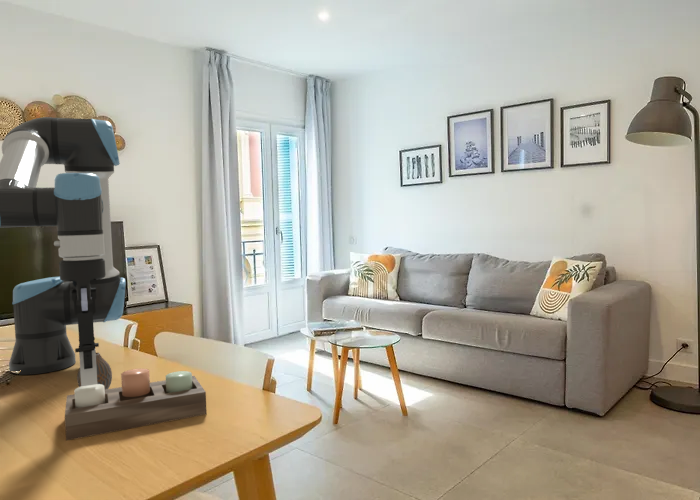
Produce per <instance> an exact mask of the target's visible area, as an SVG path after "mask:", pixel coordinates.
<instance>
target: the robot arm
mask: <svg viewBox="0 0 700 500" xmlns="http://www.w3.org/2000/svg"><path fill="white" fill-rule="evenodd" d="M1 153H2V157H1V160H0V228H19V227H20V228H23V227H26V228H27V227H56V228H57V232H56V233H57V239H58V240H54V242H53V245H54V247H58V257H59V258H62V259H61V260H60V261H59V262H58V267H59V268H58V269H59V276H52V277H51V276H49V277H45V278H40V279H35V280H30V281H29V280H28V281H26V282H21V283H19V284H16V285H15V286H14V288H13V290H12V304H11V305H13V320H14V321H13V322H14V334H15V342H14V344H13V345H14V346H13V349H12V352H11V354H10V355H11V356H10V359H9V362H8V369H9V370H10V371H20V370H21V372H20V373H19V375H21V376H23V375H24V376H25V375H27V376H28V375H38V374H39V375H40V374H46V373H52V372H57V371H60V370H64V369H68V368H69V367H72V366H73V365H75V364H76V354H77V353H78V355H79V358H78V359H79V368H80V374H81V386H88V385H94V384H97V367H96V353H97V352H96V350H97V349H96V348H99V347H100V342H95V339H96V338H95V333H94V331H95V328H94V324H95V323H106V322H111V321H117V320H120V318H122V316H123V315H124V309H125V308H124V307H125V296H126V285H127V284H126V283H127V282H126V278H124V277H120V275H121V273H120V271H119V270H118V269H117V268H115V267H114V260H113V240H112V222H111V221H112V220H111V219H112V218H111V207H110V205H111V204H110V203H111V202H110V187H109V186H110V185H109V183H110V181H109V179H110V177H112V176H113V174H114V173H115V167H117V166H119V165H120V164H121V163H120V158H119V153H118V147H117V142H116V137H115V132H114V127H113V125H112V123H111V122H109V121H108V120H105V119H103V120H102V119H95V118H71V117H69V118H68V117H51V116H43V117H36V118H34V119H30V120H27V121H25V122H22V123H20V124H19V125H16V126H15V127H13V128H12V129H11V130H9V132H8V133H7V134H6V135H5V137H4V139H3V140H2V144H1ZM44 165H63V166H64V172H63V173H58V174H56V175H55V176H54V187H37V184H38V180H39V176H40V172H41V168H42V167H43V166H44ZM71 325H77V328H78V342H79V344H78V347H77V348H74V349H73V346H72V343H71V342H70V340H69V337H68V333H67V326H71ZM10 371H9V372H10Z"/></svg>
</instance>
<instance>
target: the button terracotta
mask: <svg viewBox="0 0 700 500" xmlns="http://www.w3.org/2000/svg"><path fill="white" fill-rule="evenodd" d="M120 379H121V387H122V395H123V396H125V397H137V396H142V395H145V394H147V393H149V392H150V383H151V382H150V379H151V378H150V370H149V369H148V368H133V369H128V370H124V371H123V372H121V373H120Z"/></svg>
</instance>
